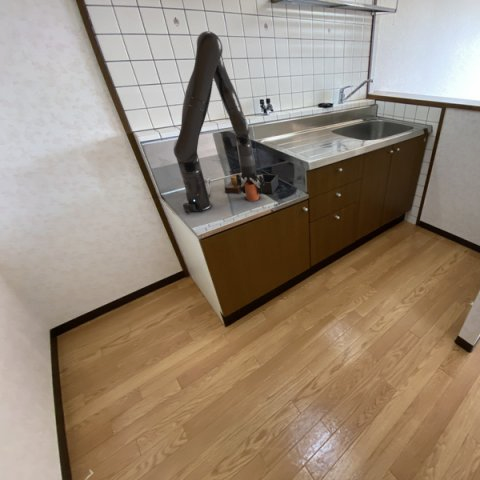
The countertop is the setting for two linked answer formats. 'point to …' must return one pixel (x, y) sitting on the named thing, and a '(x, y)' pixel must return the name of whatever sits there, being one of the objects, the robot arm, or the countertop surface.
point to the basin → (269, 183)
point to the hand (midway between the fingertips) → (252, 193)
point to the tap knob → (233, 180)
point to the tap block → (233, 188)
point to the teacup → (208, 185)
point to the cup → (251, 191)
